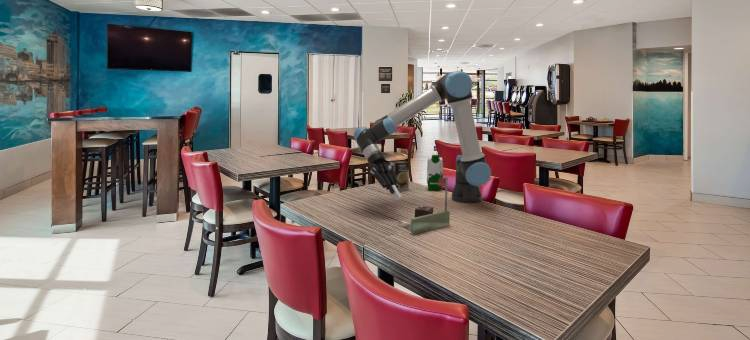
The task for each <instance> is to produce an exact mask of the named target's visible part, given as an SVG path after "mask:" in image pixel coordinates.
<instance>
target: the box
mask: <svg viewBox="0 0 750 340" xmlns="http://www.w3.org/2000/svg"><path fill="white" fill-rule="evenodd" d="M433 213H434V207H432V206H424V205H419V206H417V207H415V208H414V218H416V217H420V216H424V215H428V214H433Z"/></svg>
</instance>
